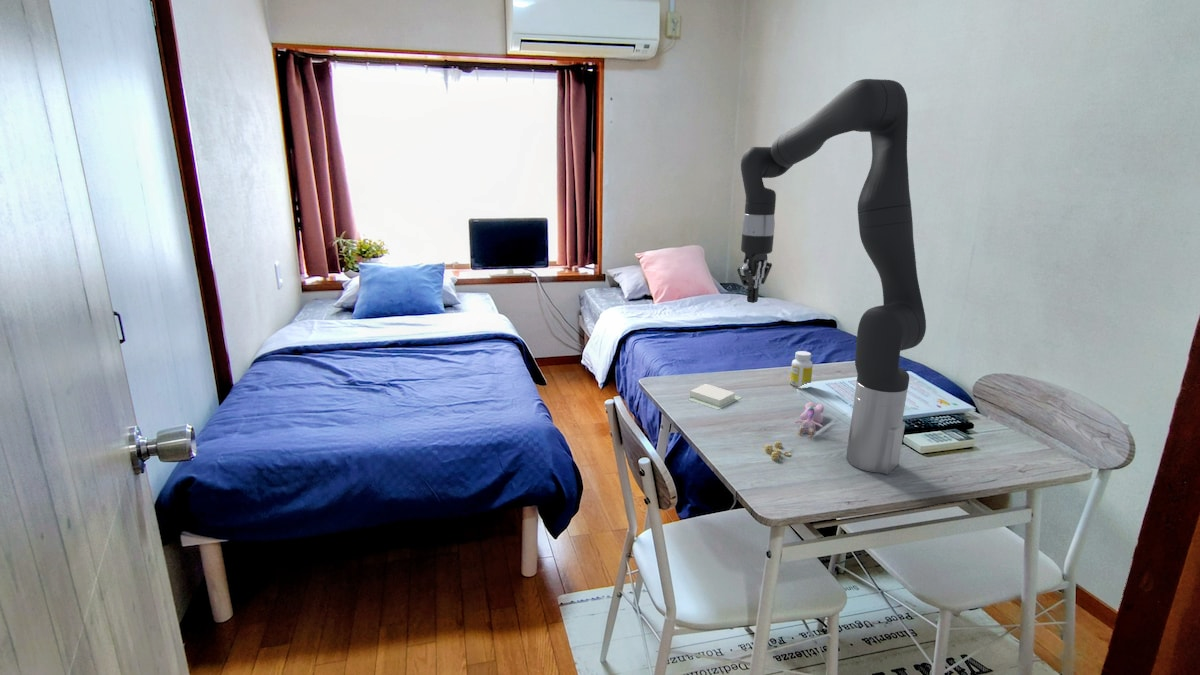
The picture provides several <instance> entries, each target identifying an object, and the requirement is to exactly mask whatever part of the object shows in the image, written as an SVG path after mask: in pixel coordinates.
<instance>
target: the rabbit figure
mask: <svg viewBox="0 0 1200 675" xmlns="http://www.w3.org/2000/svg"><path fill="white" fill-rule="evenodd" d="M824 408H825V407H824V405H823V404H821V403H818V404H816V406H815V404H814V402H810V401H809V402H806V404H805V405H804V411H803V412H802V413H801V414H800V415H799V418H800V419H799V420H795V421H794V423H795V424H797V423H798V424H800V423H801V424H800V425H799V428H798V431H799V432H798V435H799V436H802V434H805V433H807V434H808V435H809V438H810V439H814V435H815V434H816V432H817V430H816V427H817V426H818V427H820V428H821V429H823V428H824V425H822V423H823V422H824V418H823V416H822V414H823V412H824Z"/></svg>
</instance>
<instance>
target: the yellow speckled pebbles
mask: <svg viewBox="0 0 1200 675" xmlns="http://www.w3.org/2000/svg"><path fill="white" fill-rule="evenodd" d="M782 446H783V444H782V442H780V441H774V447H775V448H774V451H773V445H771V444H765V447H764V452H765V453H766V454H771V456H770V459H771V461H774V462H776V461H777V462H778V461H779V459H780V458H779V457H781V455H783V454H784V457H785V456H786V457H791V452H787V451H786V452H785V453H784V452H782V450H781V449H780V448H782Z"/></svg>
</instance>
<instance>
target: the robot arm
mask: <svg viewBox="0 0 1200 675" xmlns="http://www.w3.org/2000/svg"><path fill="white" fill-rule="evenodd" d="M908 105H909V103H908V96H907V93H906V90H905V88H904V87H903V85H902V84H901V83H900V82H898V81H896V80H892V79H877V78H876V79H875V78H863V79H859V80H856V81H853V82H852V83H851V84H849V85H848V86H846V87H845V88H844V89H842V90H841V91H840V92H839V93H838V94H837V95H835V96H834V98H832V99H831V100H830V101H829V102H828V103H826V105H824V106H823V107H821V108H820V109H819V110H818V111H816V113H814V114H813V115H811V117H809V118H808V119H806V120H805V121H803V122H802V123H800V124H799V125H797V126H795V127H793V128H791V129H790V130H788V131H786V132H785V133H782V134H781V135H780V136H778V137H777V138H775V139H774V141H773V142H772V144H771V146H752V147H751V146H750V147H749V148H747V149H746V150H745V151H744V153H743V155H742V156H741V157H742V158H741V160H740V170H741V171H740V172H741V177H742V183H743V187H744V188H743V189H744V193H745V204H744V216H743V221H742V230H741V231H742V232H741V241H740V243H741V244H740V251H741V252H742V253H744V258H743V265H742V266H741V267H740V266H738V267H737V273H738V276H739V278H740V281H741V284H742V285H743V287H746V288H747V295H746V297H747V298H746V301H747V302H748V303H751V304H755V303H757V302H758V300H759V288H761V286H762V285H764V284H765V282H766V280H767V278H768V276H769V273H770V271H771V269H772V266H773V264H772V263H771V262H769V261H768V255H769V254H771V253H772V252H773V246H774V245H773V244H774V235H775V224H776V222H775V212H776V203H777V202H776V201H777V194H776V191H775V190H774V189H772V188H769V187H765V184H764V180H763V179H772V178H777V177H780V176H782V175H784V174H786V173H787V172H788V170H789V169H791V168H792V167H793V166H794V165H796V164H797V163H800V162H801V161H803V160H806V159H807V158H809V157H811V156H813V155H815V154H816V153H817V152H818V151H819V150H820V149H821V148H822V147H823V145H824V144H825V143H826V141H828V140H830V139H831V138H833V137H835V136H839V135H842V134H845V133H849V132H854V131H855V132H860V133H864V132H865V133H870V141H871V153H872V157H871V164H870V169H869V171H868V173H867V177H866V178H865V180H864V184H863V185H862V186H863V187H862V188H861V190H860V194H859V197H858V201H857V218H858V228H859V231H858V232H859V236H860V241H861V243H862V246H863V248H864V250H865V252H866V253H867V256H868V258H870V260H871V262H872V264H873V265H874V267H875V269H876V271H877V273H878V275H879V278H880V282H881V288H882V299H883V301H882V302H883V305H878V306H877V305H876V306H874V307H870V308H869V309H867V310H866V311H865V312H864V313H863V314H862V316H861V317H860V319H859V323H858V327H857V331H856V332H857V333H856V343H855V357H854V364H855V368H856V374H857V378H856V382H855V383H856V385H855V391H854V398H853V406H852V413H851V419H850V420H851V421H850V427H849V434H848V442H847V448H846V455H845V456H846V457H845V458H846V460H847V462H848V463H849V464H850V465H852V466H853V467H856V468H857V469H860V470H862V471H865V472H871V473H881V474H883V475H884V474H885V475H889V474H891V472H892V471H893V470H895V469H896V467H897V466H898V465H899V463H900V459H901V458H900V457H901V450H902V445H903V439H904V434H905V433H904V432H905V428H906V422H905V421H904V420H903V417H904V415H905V414H904V413H905V407H906V401H907V396H908V389H909V384H910V383H909V382H910V375H909V373H908V372H907V370H905V369H903V368H902V367H900V356H901V351H902V352H903V351H905V350H910V349H912V348H915V347H917V346H918V345H919V344H920V343H921V342H922V341H923V339H924V337H925V334H926V330H927V321H926V320H927V319H926V314H925V309H924V304H923V299H922V294H921V290H920V285H919V284H920V283H919V278H918V271H917V259H916V251H915V243H914V241H915V240H914V222H913V214H912V212H913V211H912V203H911V195H910V183H909V182H910V180H909V164H908V128H909V127H908V126H909V124H908V122H909V121H908V120H909V119H908V118H909V108H908V107H909V106H908Z"/></svg>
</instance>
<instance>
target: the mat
mask: <svg viewBox="0 0 1200 675" xmlns="http://www.w3.org/2000/svg"><path fill="white" fill-rule="evenodd" d="M742 398H743V397H742V396H740V395H736V394H735V399H733V400H731V401H729V402H727V403H725V404H723V405H721V406H717V405H714V404H711V403H708V402H705V401H702V400H699V399H696V398H693V397H690V398H688V401H691V402H693V403H697V404H699V405H702V406H706V407H709V408H711V409H714V410H717V411H719V410H721V409H723V408H725V407H727V406H729V405H731V404H732V403H734V402H737V401H739V400H740V399H742Z"/></svg>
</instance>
